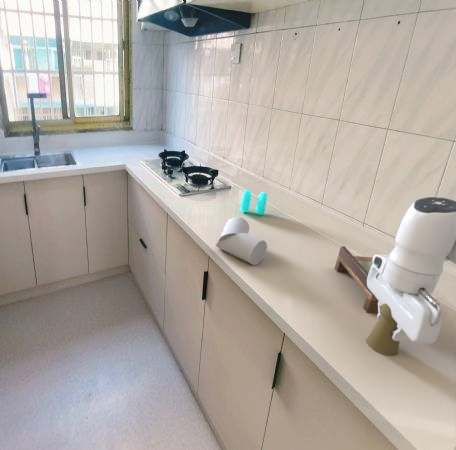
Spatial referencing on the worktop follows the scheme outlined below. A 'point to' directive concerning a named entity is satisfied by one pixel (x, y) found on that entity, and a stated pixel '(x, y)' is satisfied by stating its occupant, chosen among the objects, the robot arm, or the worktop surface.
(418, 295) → the robot arm
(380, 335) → the olive pawn shape
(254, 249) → the bent grey cylinder
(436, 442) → the worktop surface
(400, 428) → the worktop surface
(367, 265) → the shelf
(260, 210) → the cyan twin rounded posts
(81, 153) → the worktop surface
